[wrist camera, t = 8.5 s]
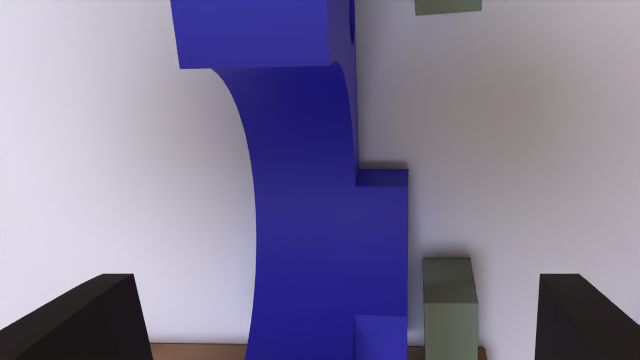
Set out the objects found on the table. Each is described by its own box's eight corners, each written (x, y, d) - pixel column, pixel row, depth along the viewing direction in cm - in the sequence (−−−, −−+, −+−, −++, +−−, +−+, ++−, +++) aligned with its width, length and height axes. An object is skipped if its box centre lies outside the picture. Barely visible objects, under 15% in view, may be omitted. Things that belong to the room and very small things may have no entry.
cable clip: (407, 328, 21) (406, 473, 16) (279, 323, 22) (234, 460, 16) (409, -41, 16) (409, -19, 11) (246, -34, 17) (169, -10, 12)
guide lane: (493, -200, 14) (509, -222, 12) (484, 371, 21) (493, 426, 19) (-96, -126, 17) (-174, -132, 15) (58, 363, 24) (20, 410, 21)
